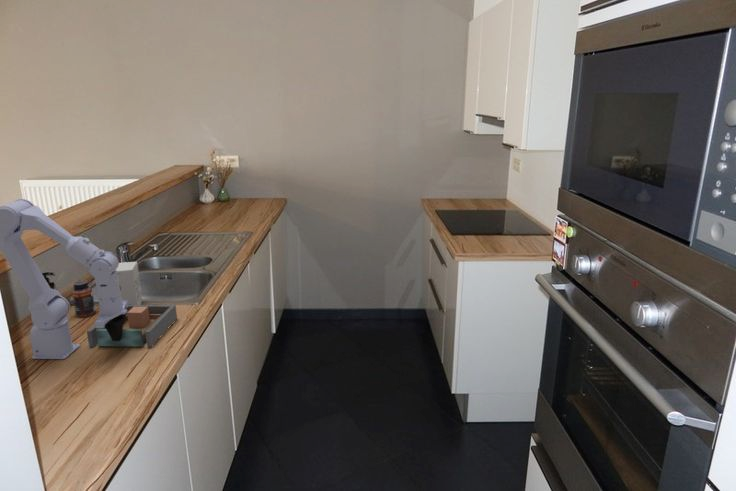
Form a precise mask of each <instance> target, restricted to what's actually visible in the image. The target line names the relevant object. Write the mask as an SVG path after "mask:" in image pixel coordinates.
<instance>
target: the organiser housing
mask: <svg viewBox="0 0 736 491" xmlns="http://www.w3.org/2000/svg"><path fill="white" fill-rule="evenodd" d="M133 307H148V310H149V314H162V315H161V316H160V317H159V318H158V319H157V320H156V322H155V323H154V324H153V325H152V326H151V327H150V328H149V329H148V330H147V331H146V332H145V335H146V341H145V343H146V346H147V347H151V346H152V345H153V344H154V343H155V342H156V341H157V340H158V338H159V337H160V336H161V335H162V334H163V333H164V332H165V331H166V330H167V329H168V327H169V326H170V325H171V324H172V323H173V322H174V321H175V320H176V319H177V320H178V315H177V307H176V304H141V305H128V307H127V308H125V309H127V312H128V311H129V310H131V309H132V308H133ZM125 314H127V313H125ZM177 320H176V321H177ZM176 321H175V322H176ZM175 322H174V323H175ZM174 323H173V324H174ZM97 329H106V328H105V327H104V328H96V325H95V324H94V325H93V326H91V327H90V328H89V329H87V331H86V334H87V336H86V337H87V340H88V342H87V343H88V346H89V348H95V346H96V345H98V341H97V335H96V330H97ZM168 330H169V329H168ZM168 330H167V331H168ZM167 331H166V332H167ZM166 332H165V333H166ZM165 333H164V334H165ZM164 334H163V335H164ZM158 341H159V340H158ZM158 341H157V342H158ZM157 342H156V343H157ZM156 343H155V344H156ZM155 344H154V345H155ZM154 345H153V346H154Z"/></svg>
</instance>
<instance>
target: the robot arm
mask: <svg viewBox="0 0 736 491" xmlns="http://www.w3.org/2000/svg"><path fill="white" fill-rule="evenodd" d="M31 230H32V231H33V230H34V231H35V230H36V231H38V232H39V233H41V234H42V235H45V236H46V237H48V238H50V239H52V240H53V241H55V242H56V243H59V244H60V245H62V246H63V247H64V248H65V253H66V254H67V255H69V256H70V257H72V258H73V259H74V260H76V261H77V262H79V263H80V264H82V265H83V266H85V267H87V268H88V272H89V274H90V275H91V276H92V277H93V279H94V280H95V281H94V282H95V289H96V294H97V299H98V300H97V301H98V304H99V305H98V306H99V311H100V312H99V315H98V316H97V319H96V320H95V321H94V325H96V328H104V327H105V328H106V330H107V331H108V333H109V335H110V337H111V339H112V341H120V340H121V337H122V328H123V324H124V321H125V318H126V314H125V313H127V309H125V308H127V307H128V301H122V299H121V293H120V287H119V280H118V275H117V270H116V269H117V267H118V265H119V263H120V261H119V258H118V257H117V255H116V254H115V253H114V252H112V251H105V250H104V249H100V248H99V247H97V246H96V245H94V244H93V243H92V242H91V241H90V239H89V238H88V237H83V236H80V235H79V236H73V234H71V233H70V232H69V231H67V230H66V229H64V227H62V226H60V224H58V223H57V222H55V220H53V219H52V218H50V217H49V216H48V215H46V214H45V212H44V211H43V210H42V208H41V207H40V206H38V205H35V204H33V203H32V201H30V200H28V199H25V198H19V199H16V200H14V201H13V202H10V203H8V204H4V205H1V206H0V252H1V253H2V255H3V257H4V259H5V260H6V261H7V263H8V265H9V266H10V269H11V270H12V272H13V273H14V275H15V276H16V277H17V280H18V281H19V283H20V284H21V286H22V288H23V289H24V291H25V293H26V294H27V296H28V298H29V301H28V302H29V303H28V305H27V306H28V308H27V309H28V311H29V313H30V314H31V315H30V316H31V322H32V324H33V326H32V327H31V329H30V332H29V339H30V344H31V350H32V353H33V354H32V355H33V356H32V357H31V359H33V360H35V359H36V360H45V359H46V360H65V359H66V358H68V357H69V356H70V355H71V354H73V353H74V352H75V351H76V350H77V349H78V348H80V347H81V344H80V343H77V344H76V343H73V339H72V338H73V337H72V332H71V329H70V324H69V323H70V322H69V319H68V314H69V312H70V311H71V305H70V304H71V303H70V302H69V301H68V299H67V298H65V297H64V296H63V295H62V294H61V293H60V291H58V290H57V289H54V288H52V287H51V286H50V284H49V283H48V282H47V280H46V278H45V276H44V275H43V273H42V271H41V269H40V268H39V266H38V264H37V263H36V261H35V260H34V258H33V256H32V255H31V253H30V251H29V250H28V248H27V246H26V245H25V243H24V241H23V239H22V236H23V234H24V231H31ZM115 270H116V271H115Z"/></svg>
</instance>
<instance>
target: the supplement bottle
mask: <svg viewBox="0 0 736 491" xmlns="http://www.w3.org/2000/svg"><path fill="white" fill-rule="evenodd" d="M71 296H72V297H71V298H72V302H73V306H74V311H75V316H76V317H78V318H87V317H90V316H93V315H95V314H96V312H97V311H96V304H95V298H94V293H93V288H92V287H91V286H89V285H88V281H87V280H78V281H75V282H73V289H72V291H71Z"/></svg>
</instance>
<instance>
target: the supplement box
mask: <svg viewBox="0 0 736 491" xmlns="http://www.w3.org/2000/svg"><path fill="white" fill-rule="evenodd" d="M116 270H117V275H118V280H119V287H120V293H121V299H122V301H128V305H142V304H143V294H142V288H141V280H140V274H139V264H138V261H128V262H127V261H126V262H119V265H118V267H117V269H116ZM116 270H115V271H116Z"/></svg>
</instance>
